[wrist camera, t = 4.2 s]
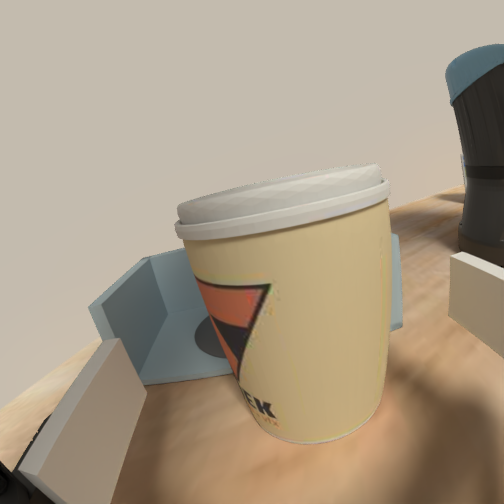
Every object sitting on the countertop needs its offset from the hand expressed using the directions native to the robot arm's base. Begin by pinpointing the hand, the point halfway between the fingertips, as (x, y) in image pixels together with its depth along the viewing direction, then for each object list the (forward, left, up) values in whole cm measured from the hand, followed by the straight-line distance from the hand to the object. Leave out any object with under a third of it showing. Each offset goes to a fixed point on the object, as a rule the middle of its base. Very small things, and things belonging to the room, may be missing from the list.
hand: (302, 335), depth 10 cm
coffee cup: (-1, -4, -7) cm, 8 cm away
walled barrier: (+2, -14, -7) cm, 16 cm away
